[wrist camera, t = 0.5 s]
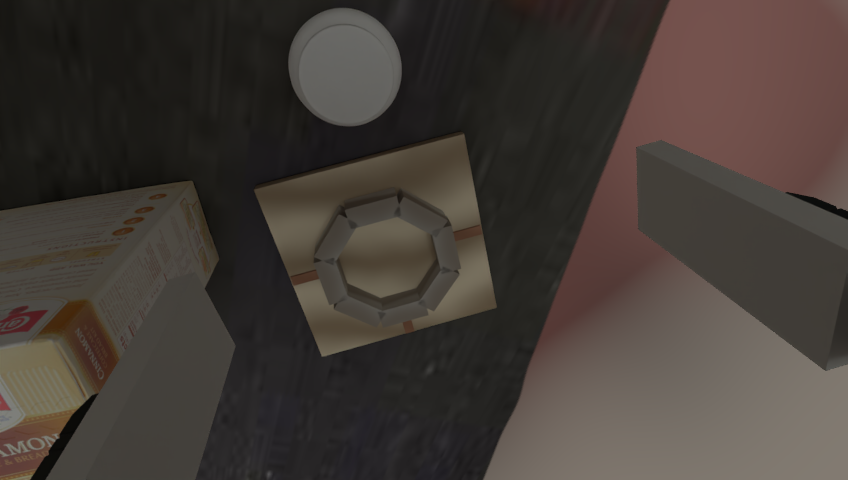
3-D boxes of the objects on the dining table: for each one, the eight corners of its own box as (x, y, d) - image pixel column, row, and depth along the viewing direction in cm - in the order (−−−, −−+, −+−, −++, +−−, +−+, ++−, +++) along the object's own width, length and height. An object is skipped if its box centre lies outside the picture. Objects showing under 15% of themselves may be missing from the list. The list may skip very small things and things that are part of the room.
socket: (255, 185, 36) (248, 199, 33) (461, 131, 37) (470, 140, 34) (322, 349, 43) (321, 371, 40) (493, 301, 44) (503, 320, 41)
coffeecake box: (25, 296, 37) (-258, 548, 20) (-24, 210, 34) (-412, 419, 16) (223, 262, 38) (124, 469, 21) (194, 176, 35) (49, 337, 18)
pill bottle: (399, 92, 35) (422, 123, 25) (316, 114, 35) (306, 154, 25) (376, -1, 32) (392, -8, 22) (286, 21, 32) (262, 24, 22)
